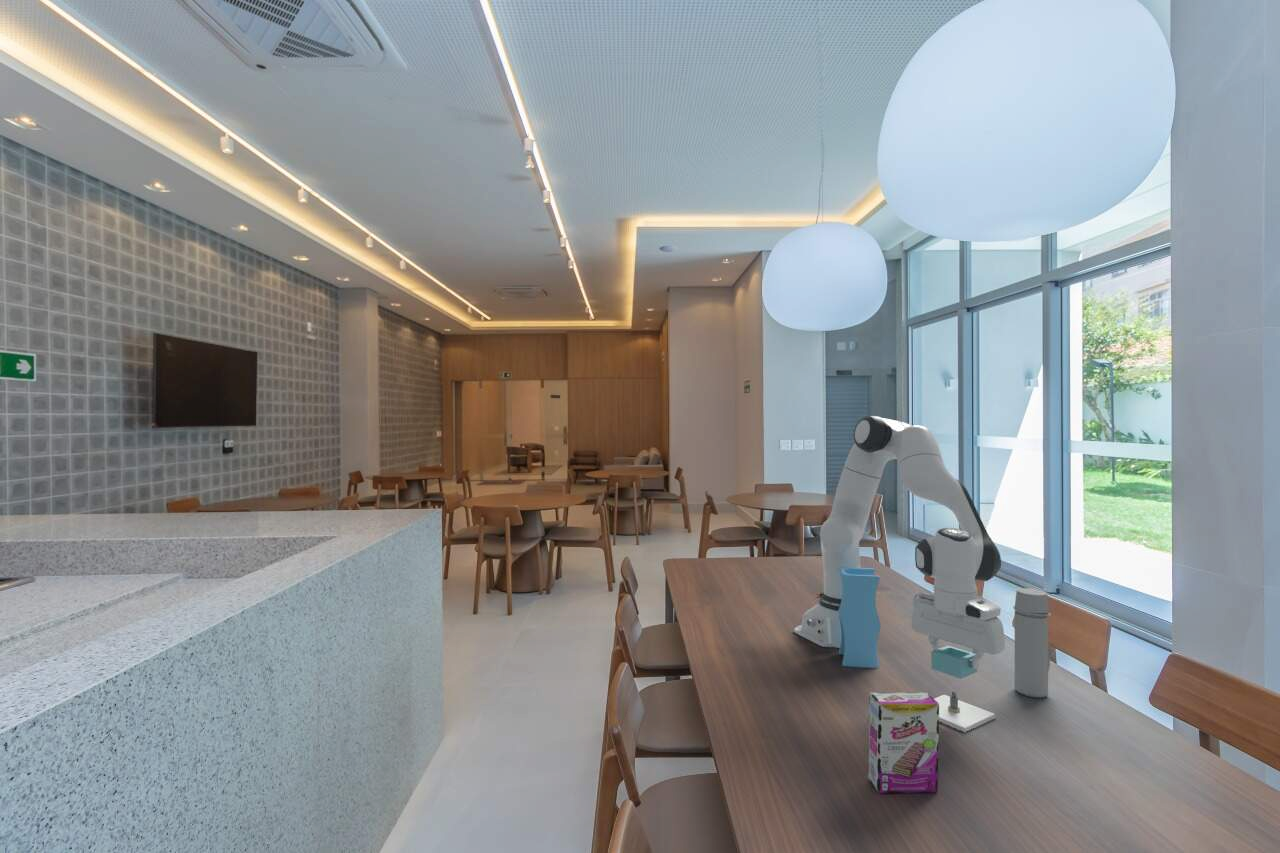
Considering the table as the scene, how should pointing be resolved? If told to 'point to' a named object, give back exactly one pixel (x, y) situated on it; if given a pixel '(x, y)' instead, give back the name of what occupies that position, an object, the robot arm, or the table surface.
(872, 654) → the vase
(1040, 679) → the water bottle
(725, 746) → the table surface
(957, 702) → the post stand
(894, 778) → the candy bar box
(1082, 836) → the table surface
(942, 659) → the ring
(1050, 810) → the table surface
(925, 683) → the table surface
